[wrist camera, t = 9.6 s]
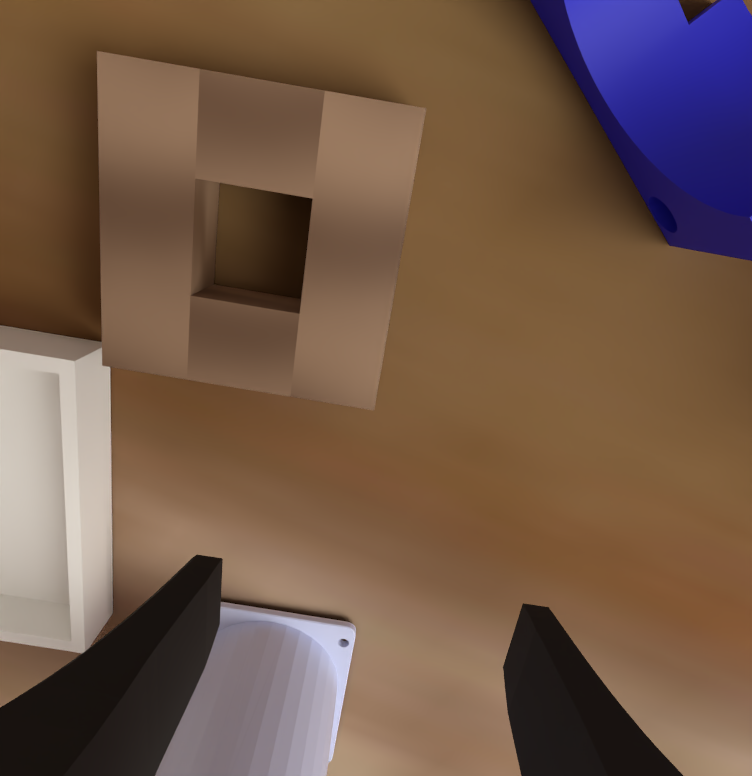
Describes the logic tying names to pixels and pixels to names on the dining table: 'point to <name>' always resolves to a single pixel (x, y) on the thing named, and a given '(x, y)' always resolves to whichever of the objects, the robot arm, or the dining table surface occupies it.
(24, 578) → the tray
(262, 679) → the robot arm
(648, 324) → the dining table surface
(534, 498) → the dining table surface
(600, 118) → the cable clip
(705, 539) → the dining table surface
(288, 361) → the square hole board
